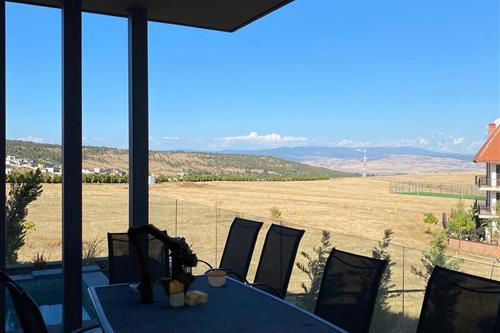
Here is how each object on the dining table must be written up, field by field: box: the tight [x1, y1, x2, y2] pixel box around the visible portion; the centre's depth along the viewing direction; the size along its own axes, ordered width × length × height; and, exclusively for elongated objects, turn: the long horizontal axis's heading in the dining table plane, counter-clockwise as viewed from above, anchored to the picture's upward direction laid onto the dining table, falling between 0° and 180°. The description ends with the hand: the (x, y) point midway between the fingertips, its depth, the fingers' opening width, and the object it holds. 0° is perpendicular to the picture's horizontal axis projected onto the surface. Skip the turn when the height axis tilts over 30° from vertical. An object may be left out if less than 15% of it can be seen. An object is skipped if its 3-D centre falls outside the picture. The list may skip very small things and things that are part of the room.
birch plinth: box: [180, 290, 208, 306], centre depth 241 cm, size 10×10×4 cm
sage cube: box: [169, 293, 185, 308], centre depth 234 cm, size 5×5×5 cm
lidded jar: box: [207, 269, 227, 288], centre depth 274 cm, size 11×11×9 cm
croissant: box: [163, 282, 191, 295], centre depth 262 cm, size 21×10×8 cm, turn 150°
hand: (176, 296), depth 234 cm, fingers open, 9 cm apart
